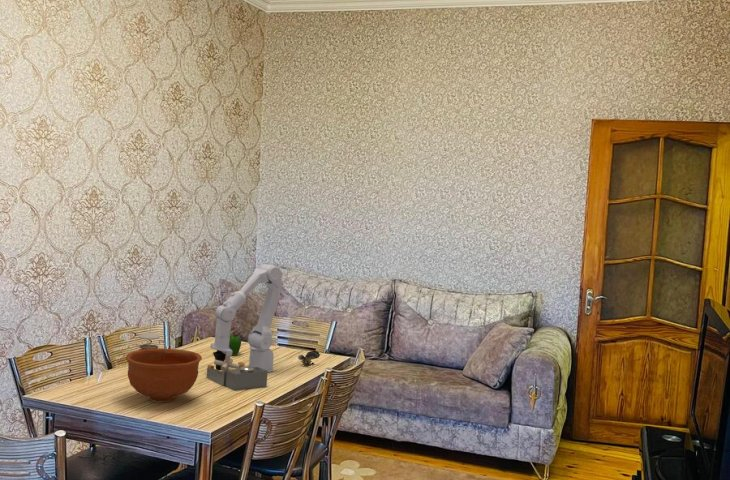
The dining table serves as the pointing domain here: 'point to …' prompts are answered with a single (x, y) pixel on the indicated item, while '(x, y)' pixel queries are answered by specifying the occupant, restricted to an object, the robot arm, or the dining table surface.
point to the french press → (150, 337)
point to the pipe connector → (226, 363)
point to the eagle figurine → (309, 357)
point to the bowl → (162, 372)
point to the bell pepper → (234, 344)
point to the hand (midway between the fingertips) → (219, 369)
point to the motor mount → (239, 377)
